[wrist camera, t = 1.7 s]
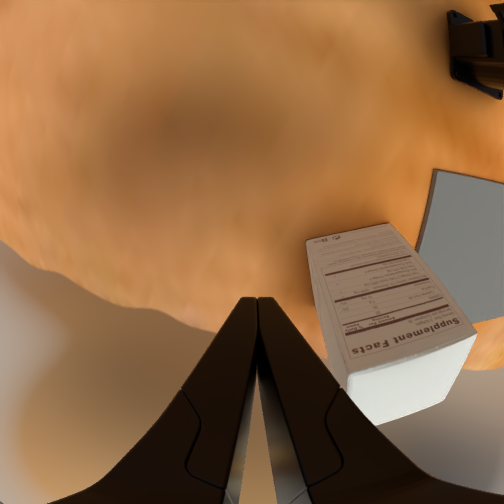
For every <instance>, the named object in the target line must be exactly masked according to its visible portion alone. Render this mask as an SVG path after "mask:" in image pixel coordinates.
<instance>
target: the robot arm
mask: <svg viewBox="0 0 504 504" xmlns="http://www.w3.org/2000/svg"><path fill="white" fill-rule="evenodd" d="M489 6H490V7H491V9H492V11H493V12H494V13H495V15H496V17H497V19H498V20H489V21H473V20H471V19H469V18H468V17H466V16H464V15H462V14H460V13H458V12H456V11H454V10H450V11H448V12H447V15H448V25H449V36H450V57H451V76H452V78H453V79H454V80H456V81H458V82H461V83H463V84H465V85H468V86H470V87H472V88H475V89H477V90H479V91H481V92H483V93H485V94H487V95H489V96H491V97H493V98H495V99H499V100H501V99H502V98H503V90H504V3H500V4H493V5H489ZM452 14H453V15H454V17H453V15H452ZM456 73H457V75H458V76H456ZM256 375H257V377H258V385H259V391H260V398H261V404H262V411H263V418H264V424H265V430H266V436H267V442H268V449H269V455H270V462H271V467H272V474H273V479H274V486H275V491H276V498H277V503H278V504H504V495H501V494H495V493H490V492H485V491H481V490H477V489H472V488H468V487H465V486H461V485H457V484H454V483H450V482H447V481H444V480H441V479H438V478H435V477H434V476H431V475H430V474H428V473H426V472H424V471H423V470H422V469H420V468H419V467H418V466H417V465H416V464H414V463H413V462H412V461H411V460H410V459H409V458H408V457H407V456H406V455H405V454H403V452H402V451H400V450H399V449H398V448H397V447H396V446H395V445H394V444H393V443H392V442H391V441H390V440H389V439H388V438H387V437H386V436H385V435H384V434H383V433H382V432H381V431H379V429H378V428H377V427H376V426H375V425H374V424H373V423H372V422H371V421H370V420H369V419H368V418H367V417H366V416H365V415H364V414H363V412H362V411H361V410H360V409H359V408H358V407H357V405H356V404H355V403H354V402H353V401H352V399H351V398H350V397H349V395H348V394H347V393H346V392H345V390H344V389H343V388H340V384H339V383H338V381H337V380H336V379H335V378H334V376H333V375H332V374H331V372H330V371H329V370H328V369H327V367H326V366H325V365H324V363H323V362H322V361H321V359H320V358H319V357H318V355H317V354H316V353H315V352H314V350H313V349H312V348H311V346H310V345H309V344H308V342H307V341H306V340H305V339H304V337H303V336H302V335H301V333H300V332H299V331H298V329H297V328H296V327H295V325H294V324H293V323H292V321H291V320H290V319H289V318H288V316H287V315H286V314H285V312H284V311H283V310H282V308H281V307H280V306H279V304H278V303H277V302H276V300H275V299H274V298H273V297H259V298H258V299H257V298H256V297H241V298H240V300H239V301H238V303H237V304H236V306H235V307H234V309H233V310H232V312H231V313H230V315H229V316H228V318H227V319H226V321H225V322H224V324H223V325H222V327H221V328H220V330H219V331H218V333H217V334H216V336H215V338H214V339H213V341H212V342H211V343H210V345H209V347H208V348H207V349H206V351H205V353H204V354H203V356H202V357H201V359H200V360H199V362H198V363H197V364H196V366H195V368H194V369H193V371H192V372H191V374H190V375H189V376H188V378H187V379H186V381H185V382H184V384H183V385H182V387H181V390H179V391H178V392H177V394H176V395H175V397H174V398H173V400H172V401H171V403H170V404H169V405H168V407H167V408H166V409H165V411H164V412H163V413H162V415H161V416H160V417H159V419H158V420H157V421H156V422H155V423H154V424H153V426H152V427H151V428H150V429H149V430H148V431H147V433H146V434H145V435H144V436H143V437H142V438H141V439H140V440H139V441H138V442H137V443H136V445H135V446H134V447H133V448H132V449H131V450H130V451H129V452H128V453H127V454H126V455H125V456H124V457H123V458H122V459H121V460H120V461H119V462H118V463H117V464H116V466H114V468H112V470H111V471H109V472H108V473H107V474H106V475H105V476H104V477H103V478H102V479H101V480H99V481H98V482H96V483H95V484H93V485H92V486H90V487H88V488H86V489H85V490H82V491H80V492H77V493H75V494H72V495H70V496H67V497H65V498H62V499H59V500H57V501H53V502H51V503H47V504H238V503H239V496H240V491H241V484H242V477H243V470H244V464H245V458H246V450H247V444H248V437H249V430H250V422H251V415H252V408H253V401H254V393H255V385H256ZM0 504H3V503H2V502H0Z"/></svg>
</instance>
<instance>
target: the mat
mask: <svg viewBox="0 0 504 504" xmlns="http://www.w3.org/2000/svg"><path fill="white" fill-rule="evenodd" d="M415 251H416V252H417V253H418V254H419V256H420V257H421V258H422V259H423V260H424V261H425V263H426V264H427V265H428V266H429V267H430V269H431V270H432V271H433V272H434V274H435V275H436V276H437V277H438V279H439V280H440V281H441V283H442V284H443V285H444V286H445V288H446V289H447V290H448V292H449V293H450V294H451V296H452V297H453V299H454V300H455V301H456V303H457V304H458V305H459V307H460V308H461V309H462V311H463V312H464V314H465V315H466V317H467V318H468V320H469V321H470V322H471V324H473V323H477V322H482V321H486V320H490V319H494V318H498V317H502V316H504V184H503V183H499V182H495V181H491V180H487V179H483V178H478V177H474V176H469V175H464V174H459V173H454V172H449V171H443V170H437V169H434V171H433V177H432V182H431V188H430V193H429V198H428V202H427V207H426V211H425V215H424V220H423V224H422V228H421V231H420V235H419V239H418V243H417V246H416V250H415Z"/></svg>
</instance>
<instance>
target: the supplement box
mask: <svg viewBox="0 0 504 504" xmlns="http://www.w3.org/2000/svg"><path fill="white" fill-rule="evenodd" d="M306 248H307V256H308V263H309V269H310V276H311V283H312V289H313V295H314V302H315V308H316V311H317V314H318V318H319V322H320V326H321V330H322V334H323V338H324V342H325V346H326V350H327V354H328V358H329V362H330V367H331V371H332V375H333V376H334V378H335V379H336V380H337V381H338V383H339V384H340V388H343V389H344V390H345V392H346V393H347V394H348V395H349V397H350V398H351V399H352V401H353V402H354V403H355V404H356V405H357V407H358V408H359V409H360V410H361V411H362V412H363V414H364V415H365V416H366V417H367V418H368V419H369V420H370V421H371V422H372V423H373V424H374V425H379V424H382V423H385V422H388V421H391V420H394V419H398V418H401V417H403V416H406V415H409V414H412V413H414V412H417V411H420V410H422V409H425V408H428V407H430V406H432V405H435V404H437V403H439V402H441V401H443V400H444V399H445V397H446V395H447V394H448V392H449V390H450V388H451V386H452V385H453V383H454V381H455V379H456V377H457V375H458V373H459V371H460V370H461V368H462V366H463V364H464V362H465V360H466V358H467V356H468V354H469V352H470V349H471V347H472V345H473V343H474V341H475V339H476V336H477V334H478V333H477V331H476V330H475V328H474V327H473V325H472V324H471V322H470V321H469V320H468V318H467V317H466V315H465V314H464V312H463V311H462V309H461V308H460V307H459V305H458V304H457V303H456V301H455V300H454V299H453V297H452V296H451V294H450V293H449V292H448V290H447V289H446V288H445V286H444V285H443V284H442V283H441V281H440V280H439V279H438V277H437V276H436V275H435V274H434V272H433V271H432V270H431V269H430V267H429V266H428V265H427V264H426V263H425V261H424V260H423V259H422V258H421V257H420V256H419V254H418V253H417V252H416V251H415V250H414V248H413V247H412V246H411V245H410V244H409V243H408V242H407V241H406V239H405V238H404V237H403V236H402V235H401V234H400V233H399V232H398V231H397V230H396V229H395V227H394V226H393V225H392V224H390V223H388V224H382V225H376V226H372V227H367V228H362V229H357V230H352V231H347V232H343V233H338V234H333V235H328V236H324V237H319V238H314V239H310V240H307V241H306Z"/></svg>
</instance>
